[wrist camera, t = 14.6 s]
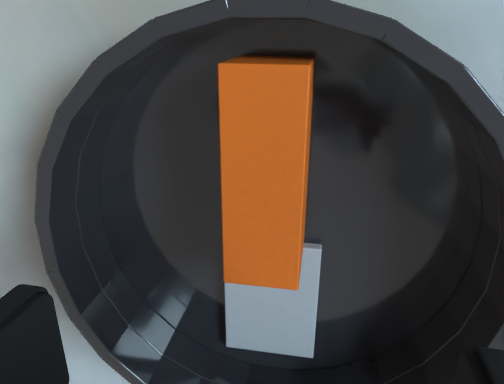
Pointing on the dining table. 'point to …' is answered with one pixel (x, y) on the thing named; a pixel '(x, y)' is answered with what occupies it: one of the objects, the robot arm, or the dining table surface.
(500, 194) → the bowl
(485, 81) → the dining table surface
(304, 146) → the putty knife
